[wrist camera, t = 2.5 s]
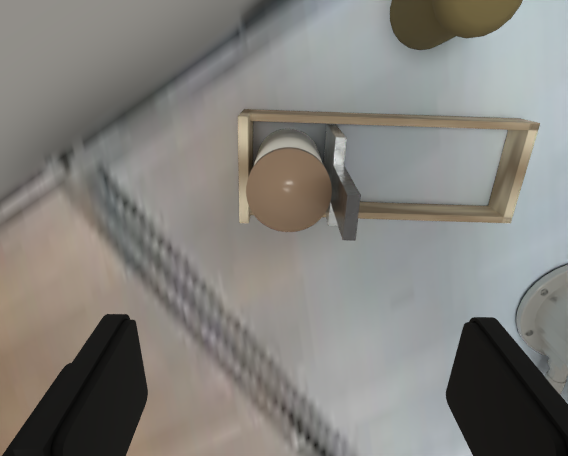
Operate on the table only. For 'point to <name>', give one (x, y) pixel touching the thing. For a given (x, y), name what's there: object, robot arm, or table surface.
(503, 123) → the wooden tray
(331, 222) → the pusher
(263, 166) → the jar
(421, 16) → the olive brown waisted cylinder
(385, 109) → the table surface
